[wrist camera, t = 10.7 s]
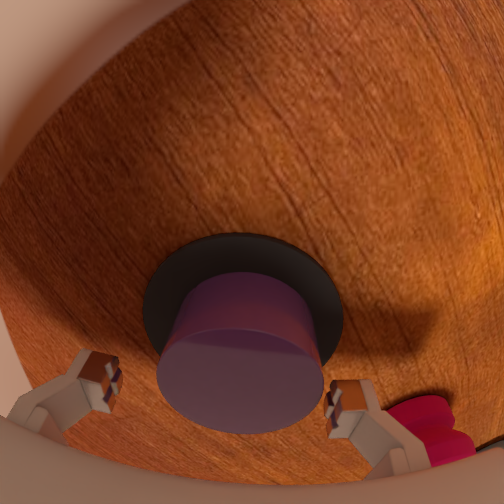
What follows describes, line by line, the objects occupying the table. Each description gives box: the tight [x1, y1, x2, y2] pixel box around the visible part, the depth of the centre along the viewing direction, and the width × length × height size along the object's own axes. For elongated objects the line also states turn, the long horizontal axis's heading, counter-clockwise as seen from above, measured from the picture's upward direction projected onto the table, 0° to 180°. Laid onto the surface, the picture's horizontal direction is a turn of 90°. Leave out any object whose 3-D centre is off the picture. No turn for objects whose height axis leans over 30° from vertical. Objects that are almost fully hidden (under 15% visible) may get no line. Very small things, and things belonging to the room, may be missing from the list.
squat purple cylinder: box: [156, 272, 324, 434], centre depth 12 cm, size 6×6×4 cm
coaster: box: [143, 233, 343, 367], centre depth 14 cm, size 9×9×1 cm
